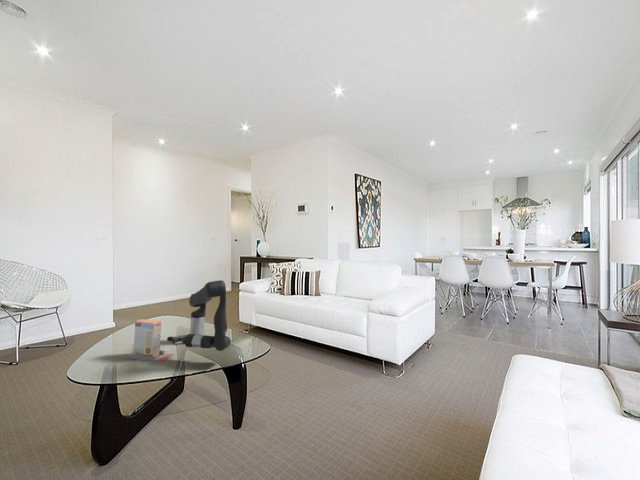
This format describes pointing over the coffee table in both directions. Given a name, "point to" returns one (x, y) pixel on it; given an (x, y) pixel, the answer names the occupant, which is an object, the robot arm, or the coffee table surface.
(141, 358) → the channel
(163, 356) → the pad
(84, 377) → the coffee table surface
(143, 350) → the cracker box
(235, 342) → the coffee table surface
